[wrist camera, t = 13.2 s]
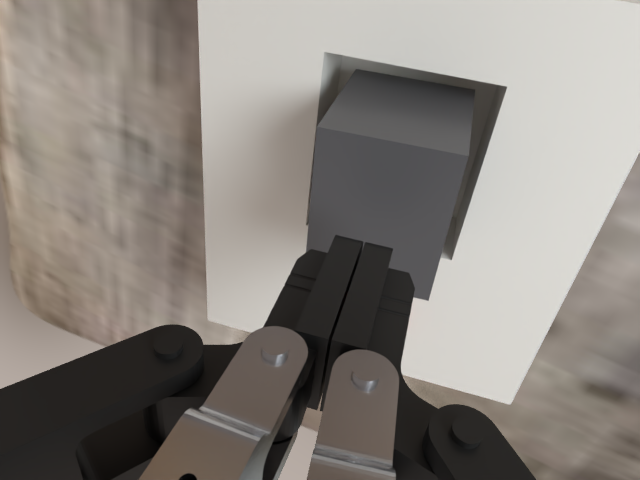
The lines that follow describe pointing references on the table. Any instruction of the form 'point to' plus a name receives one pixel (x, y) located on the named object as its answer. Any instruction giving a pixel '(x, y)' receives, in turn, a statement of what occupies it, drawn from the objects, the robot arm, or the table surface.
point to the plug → (391, 169)
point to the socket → (480, 173)
